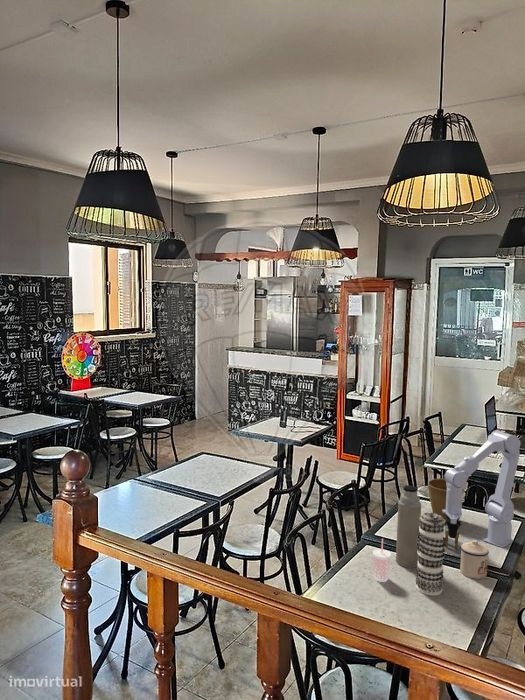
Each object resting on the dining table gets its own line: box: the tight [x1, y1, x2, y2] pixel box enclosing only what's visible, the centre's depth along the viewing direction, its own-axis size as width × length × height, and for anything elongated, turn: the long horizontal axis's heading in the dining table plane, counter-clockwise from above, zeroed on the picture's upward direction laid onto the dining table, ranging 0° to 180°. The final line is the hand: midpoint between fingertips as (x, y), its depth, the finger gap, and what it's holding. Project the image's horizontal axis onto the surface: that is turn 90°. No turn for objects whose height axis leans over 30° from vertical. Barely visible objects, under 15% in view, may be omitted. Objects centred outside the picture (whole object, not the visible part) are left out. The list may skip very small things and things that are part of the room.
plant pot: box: [427, 478, 465, 524], centre depth 232 cm, size 15×15×16 cm
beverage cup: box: [372, 538, 392, 583], centre depth 181 cm, size 6×6×14 cm
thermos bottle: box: [395, 485, 422, 569], centre depth 193 cm, size 8×8×28 cm
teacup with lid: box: [459, 539, 490, 580], centre depth 188 cm, size 12×9×12 cm
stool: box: [444, 525, 460, 549], centre depth 206 cm, size 5×5×6 cm
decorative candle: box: [415, 511, 446, 596], centre depth 175 cm, size 9×9×25 cm
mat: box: [443, 537, 464, 558], centre depth 207 cm, size 12×12×1 cm
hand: (452, 534), depth 206 cm, fingers closed on stool, 5 cm apart
